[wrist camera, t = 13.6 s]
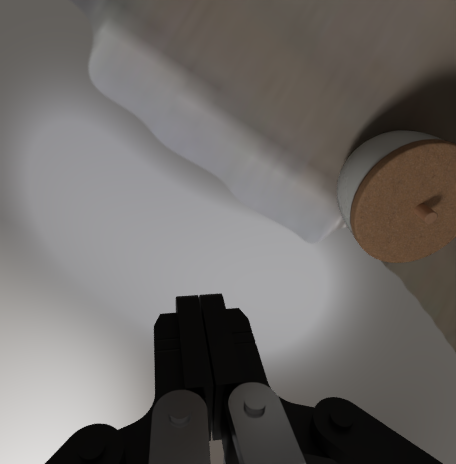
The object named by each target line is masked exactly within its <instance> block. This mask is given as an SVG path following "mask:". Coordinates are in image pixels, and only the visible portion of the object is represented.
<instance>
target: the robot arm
mask: <svg viewBox="0 0 456 464" xmlns="http://www.w3.org/2000/svg"><path fill="white" fill-rule="evenodd" d="M154 352H155V353H154V355H155V356H154V357H155V399H154V402H153V405H152V407H151V408H150V410H149V411H148V413H146V415H144V416H143V417H142V418H141V419H140V420H138V421H136V422H135V423H132V424H130V425H128V426H126V427H123V428H121V429H119V430H117V429H115V428H114V427H112V426H110V425H107V424H92V425H88V426H86V427H84V428H82V429H80V430H78V431H77V432H75V433H74V434H73V435H72V436H71V437H70V438H69V439H68V440H67V441H66V442H65V443H64V444H63V445H62V446H61V448H59V450H58V451H57V452H56V453H55V454H54V455H53V456H52V457H51V458H50V459H49V460H48V461H47V462H46V463H45V464H210V446H209V441H210V440H211V431H212V438H213V440H221V439H222V444H223V450H224V461H223V464H443V463H441V462H440V461H438V460H437V459H435V458H434V457H432V456H431V455H429V454H428V453H426V452H425V451H423V450H422V449H420V448H419V447H417V446H416V445H414V444H413V443H411V442H410V441H408V440H407V439H405V438H404V437H402V436H401V435H399V434H398V433H396V432H395V431H393V430H392V429H390V428H389V427H387V426H386V425H384V424H383V423H381V422H380V421H378V420H377V419H375V418H374V417H373V416H371V415H369V414H368V413H366V412H365V411H364V410H362V409H361V408H359V407H358V406H356V405H355V404H353V403H351V402H350V401H348V400H345V399H342V398H337V397H330V398H326V399H323V400H321V401H320V402H319V403H318V404H317V405H316V406H315V408H314V407H309V406H304V405H299V404H294V403H290V402H288V401H285V400H284V399H282V398H280V397H279V396H278V395H277V394H276V393H275V392H274V391H273V390H272V389H271V387H270V386H269V384H268V381H267V378H266V375H265V372H264V369H263V365H262V362H261V359H260V355H259V352H258V349H257V346H256V344H255V339H254V336H253V333H252V330H251V326H250V323H249V320H248V318H247V317H246V316H245V315H244V313H243V312H242V311H241V310H240V309H239V308H233V309H226V307H225V303H224V299H223V296H222V294H208V295H207V294H206V295H200V296H199V297H198V295H194V296H178V297H176V313H167V314H160V316H159V318H158V319H157V321H156V323H155V325H154Z"/></svg>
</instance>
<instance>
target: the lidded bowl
mask: <svg viewBox="0 0 456 464" xmlns="http://www.w3.org/2000/svg"><path fill="white" fill-rule="evenodd" d="M337 203H338V207H339V210H340V213H341V216H342V218H343V220H344V222H345V224H346V225H347V227H348V228H349V230H350V231H351V233H352V234H353V235H354V237H355V239H356V240H357V242H358V243H359V245H360V246H361V247H362V248H363V249H364V250H365V251H366V252H367V253H368V254H369V255H371V256H372V257H374V258H376V259H379V260H381V261H386V262H392V263H401V262H410V261H414V260H418V259H421V258H423V257H426V256H428V255H430V254H432V253H434V252H436V251H438V250H439V249H441V248H442V247H444V246H445V245H447V244H448V243H449V242H450V241H452V240H453V239H454V238H455V237H456V144H454V143H452V142H449V141H445V140H443V139H440V138H438V137H436V136H433V135H429V134H426V133H422V132H417V131H408V130H399V131H391V132H386V133H382V134H380V135H377V136H375V137H373V138H371V139H369V140H367V141H366V142H364V143H363V144H361V145H360V146H359V147H358V148H357V149H355V150H354V151H353V152H352V154H351V155H350V156H349V157H348V159H347V160H346V162H345V163H344V165H343V167H342V169H341V172H340V174H339V178H338V181H337Z"/></svg>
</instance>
